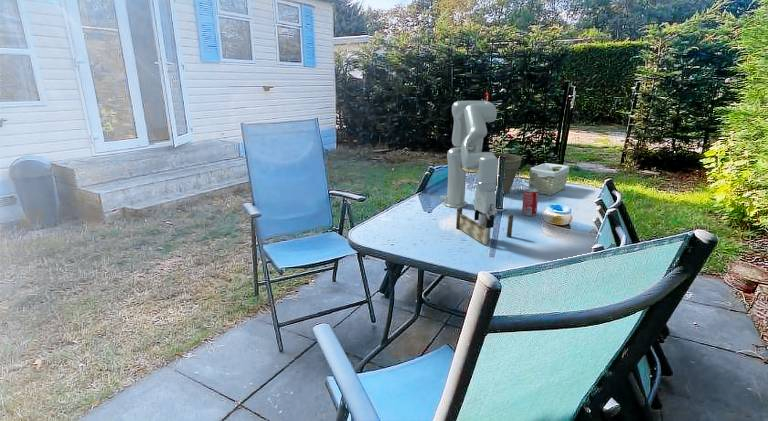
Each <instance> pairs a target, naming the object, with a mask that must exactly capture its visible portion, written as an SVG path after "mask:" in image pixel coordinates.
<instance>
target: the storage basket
mask: <svg viewBox="0 0 768 421" xmlns="http://www.w3.org/2000/svg"><path fill="white" fill-rule="evenodd" d="M570 167H571V166H570V165H566V164H558V163H548V162H545V163H541V164H539V165H536V166H533V167H530V168H529V182H528V183H529V185H528V186H529V188H531V189H537V190H538V194H540V195H548V196H552V195H554V194H556V193H558V192H561V191H562V190H564V189H565V188H566V184H567V181H568V180H567V179H568V176H569V173H570ZM553 169H554V170H555V171H553ZM529 188H528V189H529Z"/></svg>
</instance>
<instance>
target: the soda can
mask: <svg viewBox="0 0 768 421" xmlns="http://www.w3.org/2000/svg"><path fill="white" fill-rule="evenodd" d="M538 202H539V193H538V190H537V189H531V188H525V189H524V191H523V197H522V209H521V213H522V215H523V216H527V217H534V216H536V215H537V213H538V212H537V211H538Z"/></svg>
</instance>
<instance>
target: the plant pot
mask: <svg viewBox="0 0 768 421" xmlns="http://www.w3.org/2000/svg"><path fill="white" fill-rule="evenodd" d="M492 153H493V154H494V155H495V156H496V158H497V159H498V158H499V156H500V155H504V156H505V178H504V195H508V194H509V193H510V191H511V189H512V186H513V184H514V181H515V178H516V175H517V174H518V173H517V172H518V170H519V168H520V167H521V165H522V164H521V162H522V157H521V156H520V155H516V154H512V153H504V152H503V153H502V152H492ZM496 186H497V177H496ZM495 191H496V189H495ZM504 195H503V196H504Z"/></svg>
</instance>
